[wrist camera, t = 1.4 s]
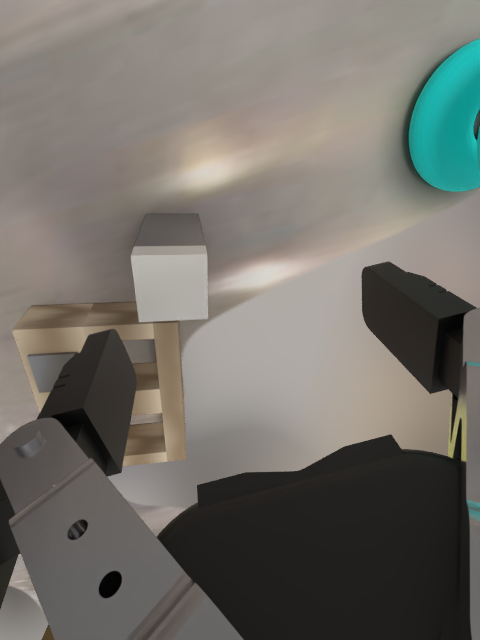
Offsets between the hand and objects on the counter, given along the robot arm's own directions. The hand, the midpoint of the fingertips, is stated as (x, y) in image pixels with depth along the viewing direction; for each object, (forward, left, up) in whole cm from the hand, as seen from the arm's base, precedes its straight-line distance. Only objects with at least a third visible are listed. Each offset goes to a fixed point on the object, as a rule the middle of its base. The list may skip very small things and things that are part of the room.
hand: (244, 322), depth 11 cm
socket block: (-9, -16, -18) cm, 26 cm away
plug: (-3, -2, -19) cm, 19 cm away
